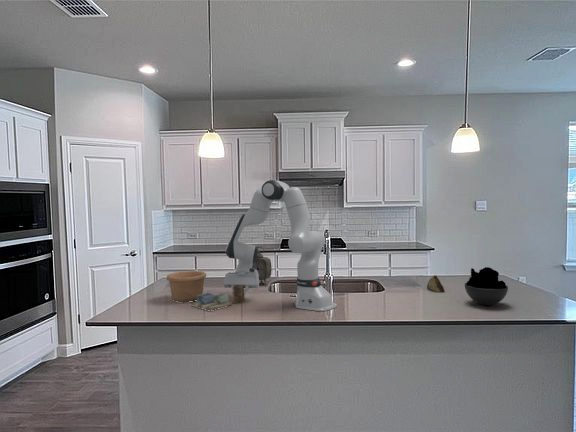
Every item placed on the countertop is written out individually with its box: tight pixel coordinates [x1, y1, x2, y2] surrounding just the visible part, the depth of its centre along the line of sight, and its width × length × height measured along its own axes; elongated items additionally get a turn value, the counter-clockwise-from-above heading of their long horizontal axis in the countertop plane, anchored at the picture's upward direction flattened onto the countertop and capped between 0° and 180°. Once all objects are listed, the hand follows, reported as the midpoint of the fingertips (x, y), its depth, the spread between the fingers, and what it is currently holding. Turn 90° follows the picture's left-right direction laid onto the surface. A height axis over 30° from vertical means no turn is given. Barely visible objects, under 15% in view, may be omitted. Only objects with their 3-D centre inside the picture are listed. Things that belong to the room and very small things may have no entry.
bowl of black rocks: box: [464, 266, 509, 306], centre depth 206 cm, size 20×20×19 cm
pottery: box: [166, 270, 207, 302], centre depth 230 cm, size 22×22×14 cm
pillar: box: [233, 285, 245, 304], centre depth 221 cm, size 4×4×9 cm
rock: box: [426, 274, 446, 293], centre depth 238 cm, size 11×9×10 cm
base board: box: [191, 292, 233, 312], centre depth 215 cm, size 16×14×6 cm
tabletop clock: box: [252, 246, 273, 286], centre depth 266 cm, size 14×9×25 cm, turn 67°
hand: (238, 293), depth 220 cm, fingers closed on pillar, 4 cm apart
